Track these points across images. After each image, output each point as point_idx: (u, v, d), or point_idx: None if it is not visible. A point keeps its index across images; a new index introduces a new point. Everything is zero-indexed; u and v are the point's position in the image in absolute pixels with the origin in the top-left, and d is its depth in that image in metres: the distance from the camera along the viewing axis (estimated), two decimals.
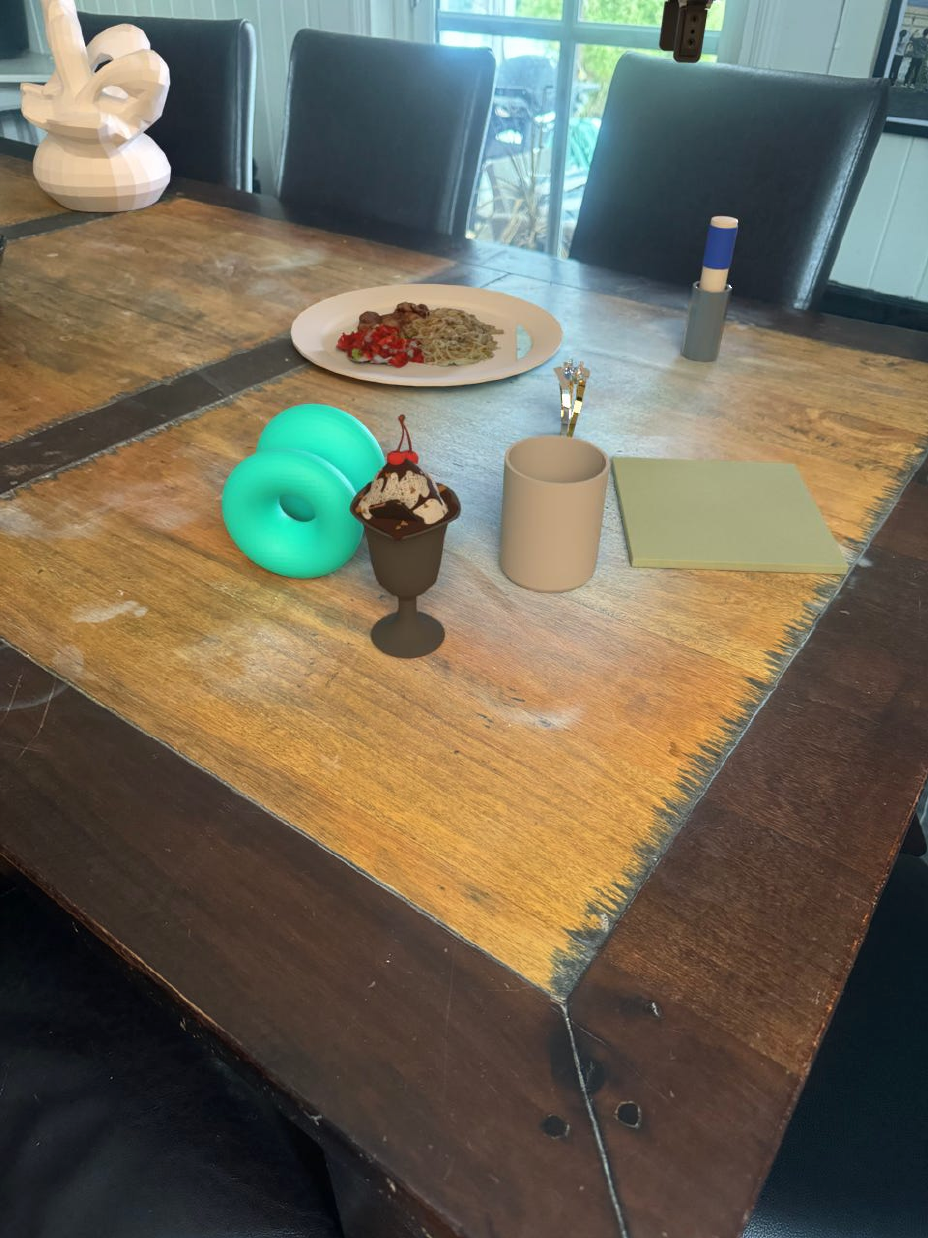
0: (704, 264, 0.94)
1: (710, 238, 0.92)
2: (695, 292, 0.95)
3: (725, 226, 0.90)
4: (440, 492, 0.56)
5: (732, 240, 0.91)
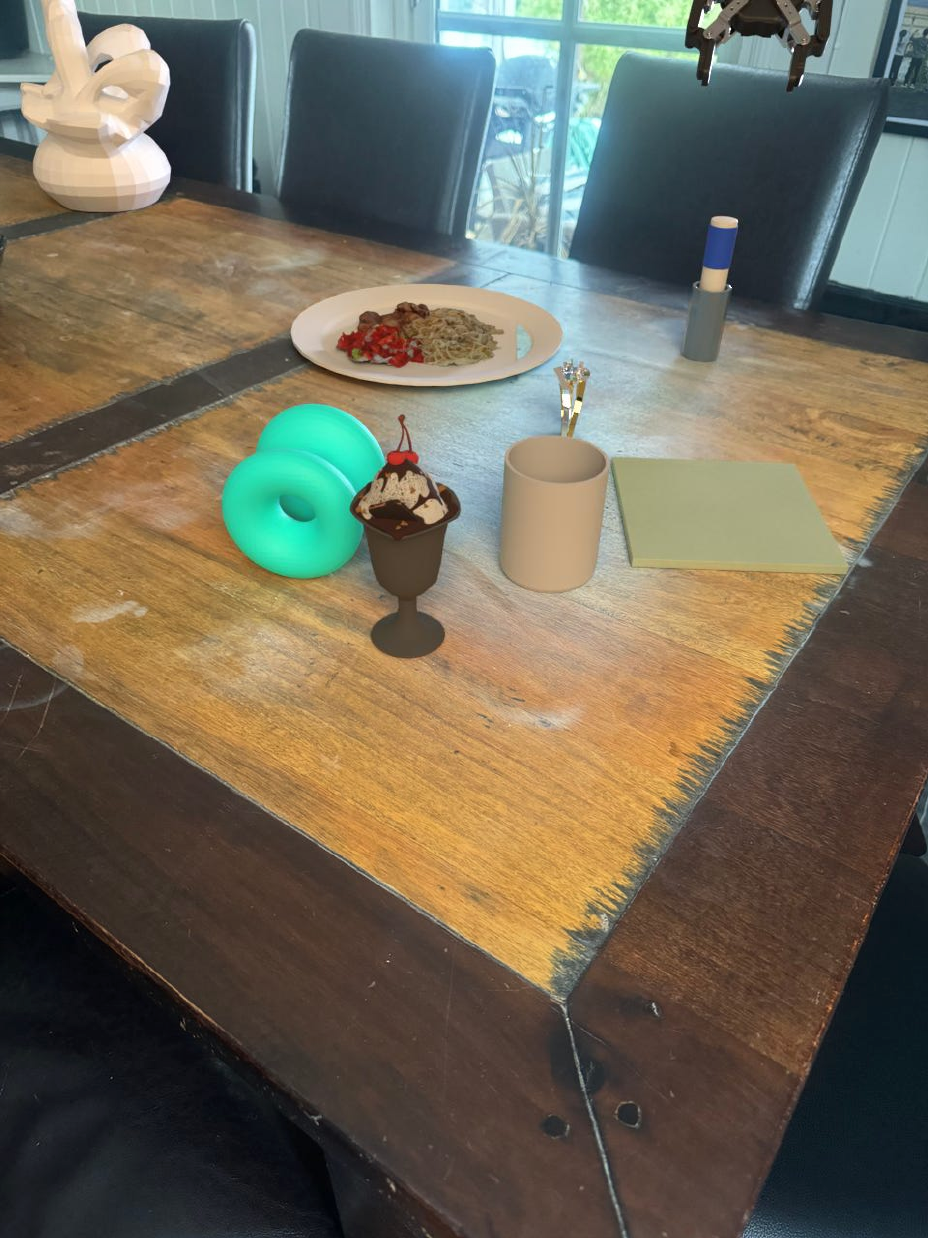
0: (704, 264, 0.94)
1: (710, 238, 0.92)
2: (695, 292, 0.95)
3: (725, 226, 0.90)
4: (440, 492, 0.56)
5: (732, 240, 0.91)
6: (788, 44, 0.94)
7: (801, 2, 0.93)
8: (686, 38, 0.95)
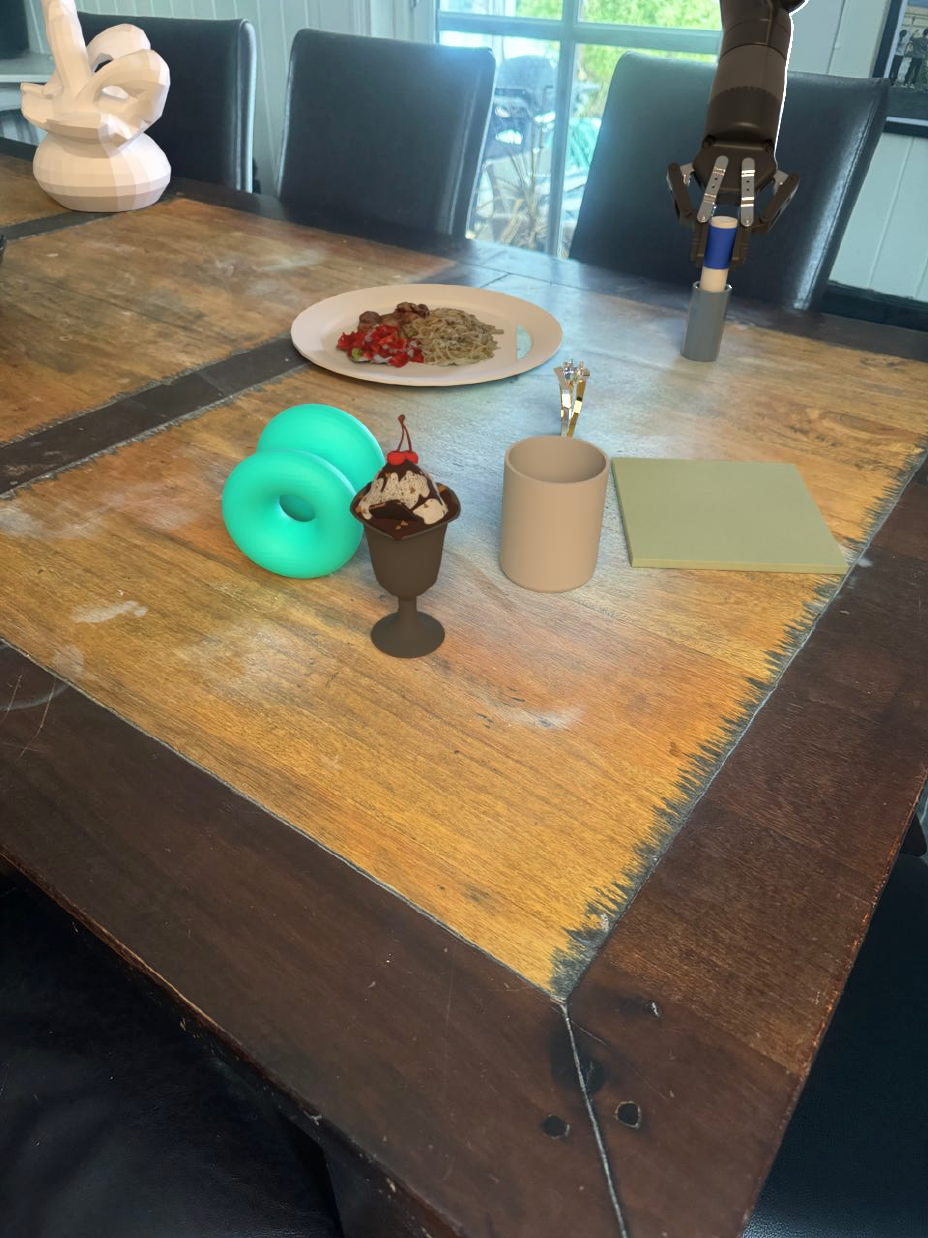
0: (704, 264, 0.94)
1: (710, 238, 0.92)
2: (695, 292, 0.95)
3: (725, 226, 0.90)
4: (440, 492, 0.56)
5: (732, 240, 0.91)
6: (739, 217, 0.93)
7: (772, 174, 0.92)
8: (680, 219, 0.93)
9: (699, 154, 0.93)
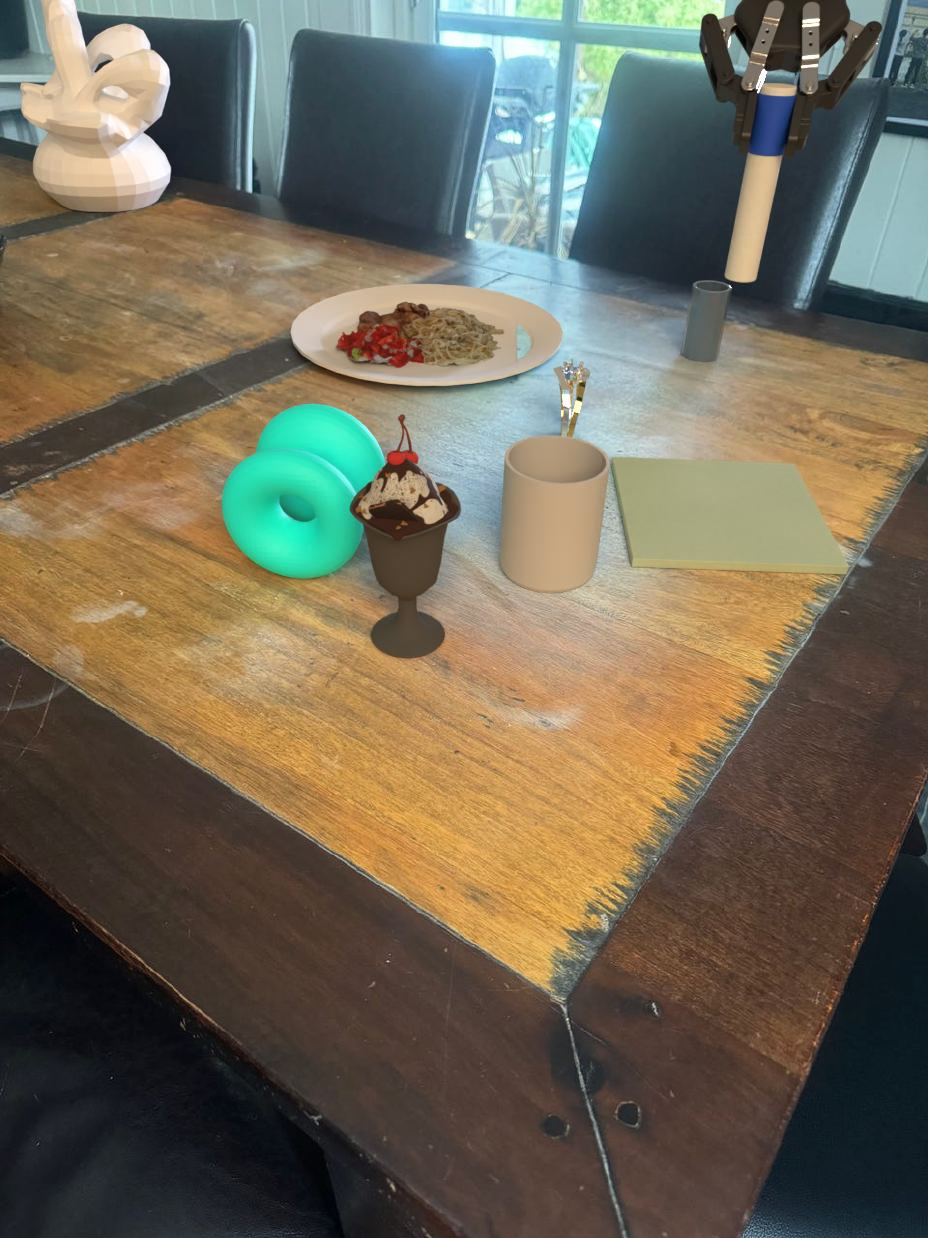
0: (750, 150, 0.70)
1: (759, 112, 0.68)
2: (695, 292, 0.95)
3: (780, 93, 0.67)
4: (440, 492, 0.56)
5: (789, 114, 0.68)
6: (797, 87, 0.69)
7: (844, 25, 0.68)
8: (718, 89, 0.70)
9: (744, 1, 0.69)
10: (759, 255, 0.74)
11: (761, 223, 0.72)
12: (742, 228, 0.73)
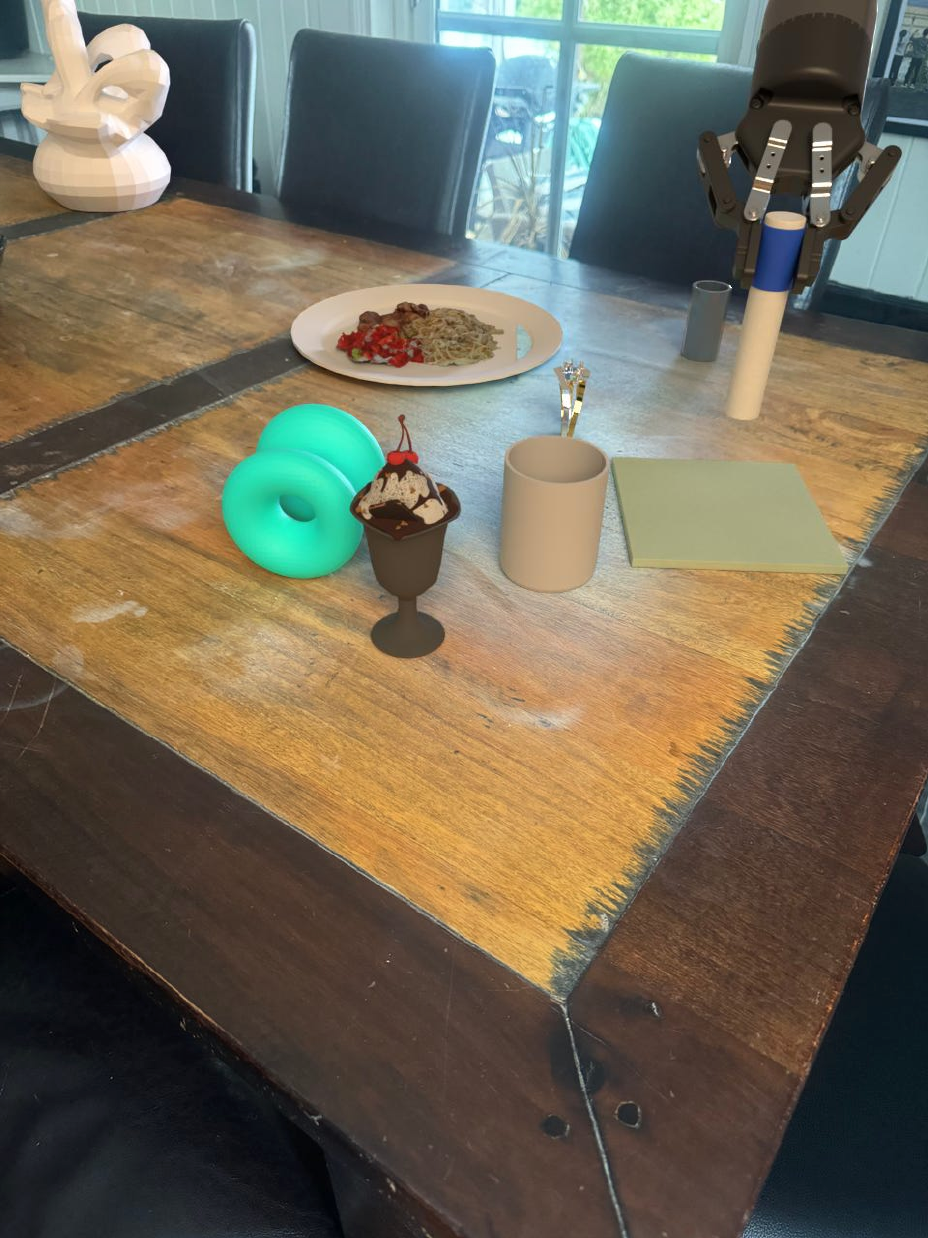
0: (753, 283, 0.62)
1: (764, 245, 0.61)
2: (695, 292, 0.95)
3: (788, 227, 0.59)
4: (440, 492, 0.56)
5: (797, 248, 0.60)
6: (806, 214, 0.62)
7: (858, 147, 0.60)
8: (717, 216, 0.62)
9: (746, 118, 0.62)
10: (762, 392, 0.67)
11: (765, 360, 0.65)
12: (744, 365, 0.65)
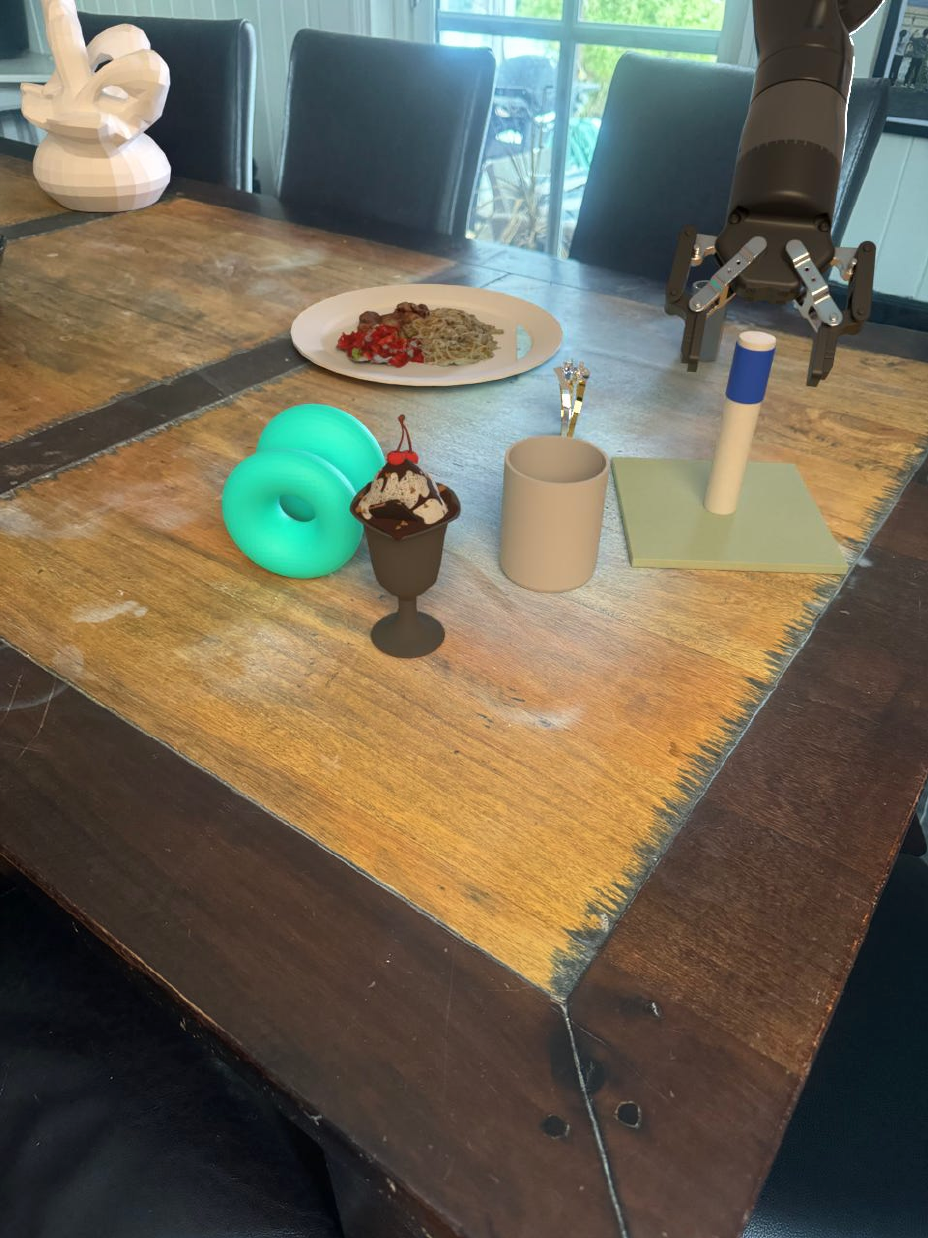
0: (728, 396, 0.67)
1: (737, 363, 0.66)
2: (695, 292, 0.95)
3: (759, 348, 0.64)
4: (440, 492, 0.56)
5: (768, 366, 0.65)
6: (810, 316, 0.66)
7: (829, 261, 0.65)
8: (666, 305, 0.68)
9: (725, 233, 0.67)
10: (739, 490, 0.72)
11: (741, 463, 0.70)
12: (721, 466, 0.70)
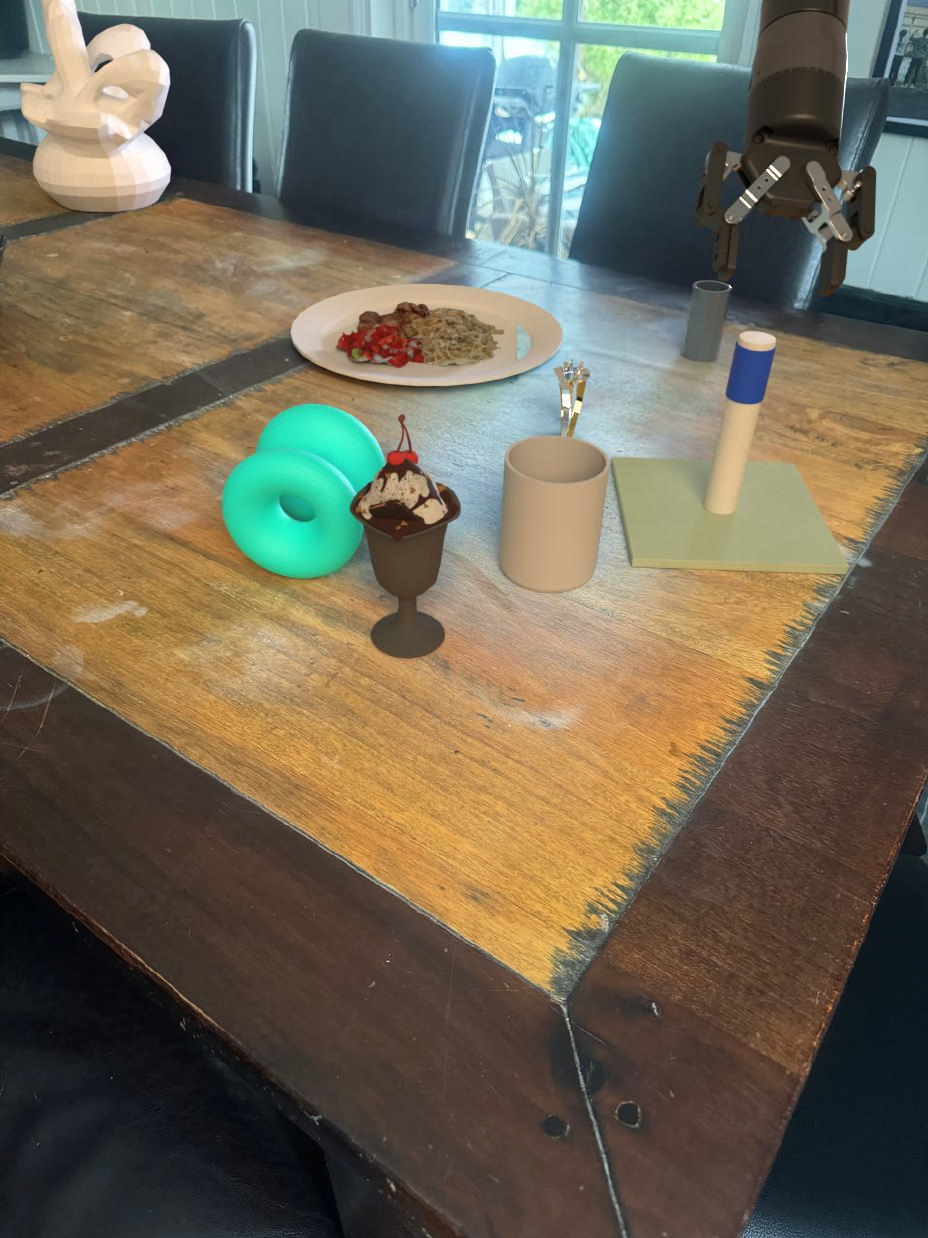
0: (728, 396, 0.67)
1: (737, 363, 0.66)
2: (695, 292, 0.95)
3: (759, 348, 0.64)
4: (440, 492, 0.56)
5: (768, 366, 0.65)
6: (819, 232, 0.75)
7: (837, 183, 0.74)
8: (699, 216, 0.74)
9: (751, 151, 0.73)
10: (739, 490, 0.72)
11: (741, 463, 0.70)
12: (721, 466, 0.70)
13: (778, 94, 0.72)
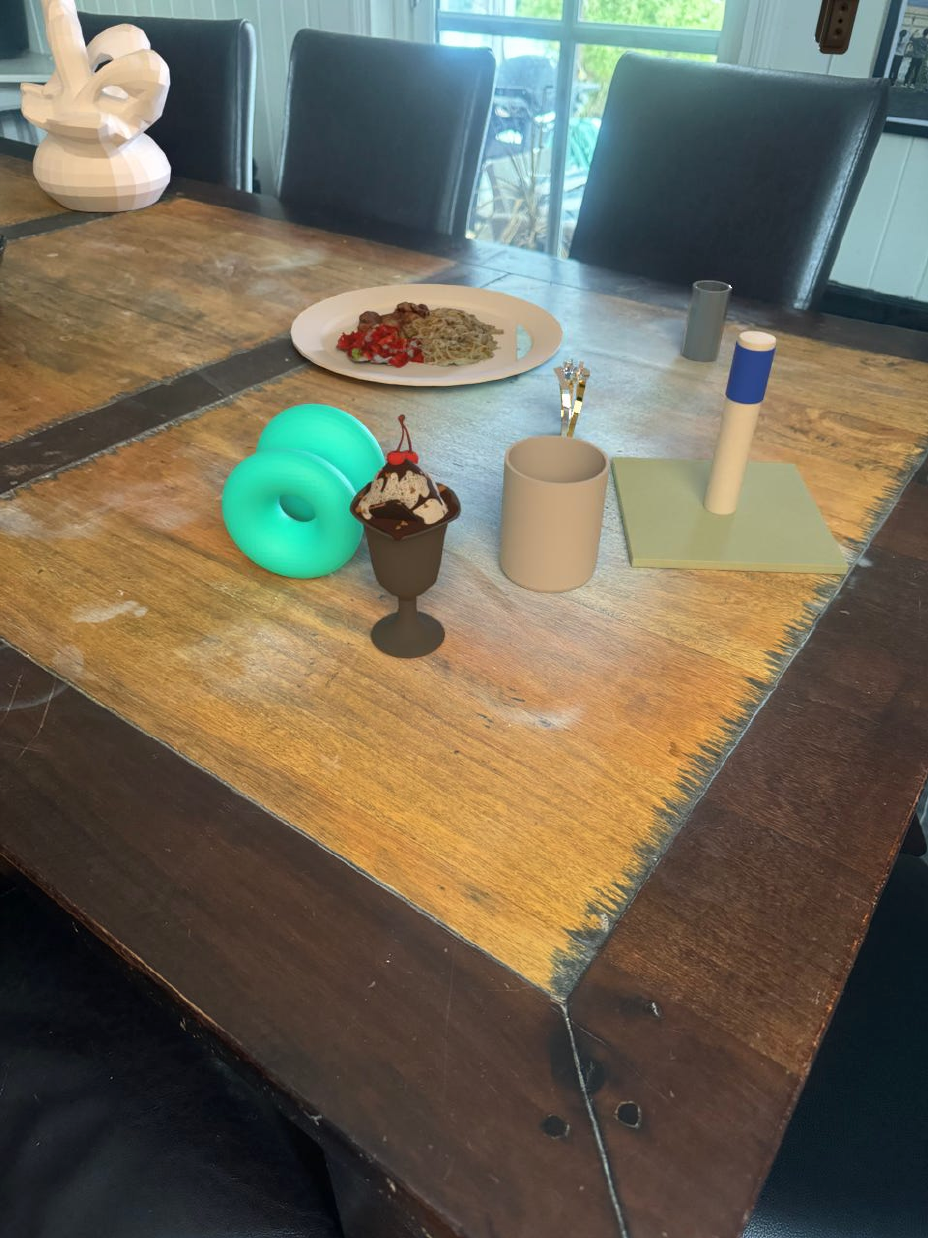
0: (728, 396, 0.67)
1: (737, 363, 0.66)
2: (695, 292, 0.95)
3: (759, 348, 0.64)
4: (440, 492, 0.56)
5: (768, 366, 0.65)
6: None
7: None
8: None
9: None
10: (739, 490, 0.72)
11: (741, 463, 0.70)
12: (721, 466, 0.70)
13: None
